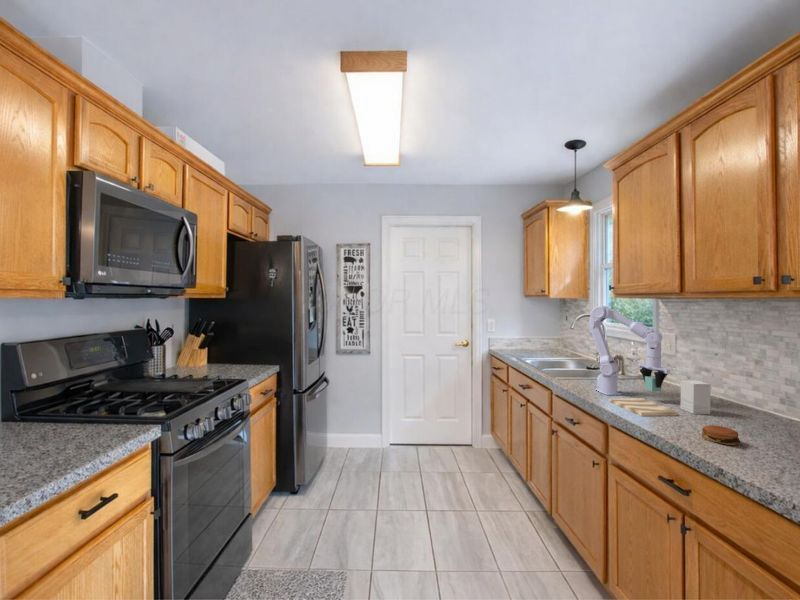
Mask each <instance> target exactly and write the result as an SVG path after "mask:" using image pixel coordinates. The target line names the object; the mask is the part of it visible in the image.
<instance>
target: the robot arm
mask: <svg viewBox="0 0 800 600" xmlns="http://www.w3.org/2000/svg"><path fill="white" fill-rule="evenodd" d="M606 319H613V320H615V321H617V322H618V323H621V324H623V325H624V326H626V327H628V328H629V330H630V332H631V333H633V334H635V335H637V336H638V337H640V338H642V339H644V340H645V341H646V353H645V355H646V357H645V363H638V364H637V368H639V372H640V374H641V375H642V378H643V381H644V383H645V376H652V373H653V374H654V376H655V378H656V387H657V388H661V389H662V385H663V382H664V380H665V378H666V377H667V376H668V374H671V369H670V368H666V367H664V366H663V367H662V341H663V335H662V333H661V332H659V331H658V330H655V328H653V327H649V326H647V325H645V324H644V322H643V321H633V320H632V319H629V318H628V317H626V316H625V315H623V314H622V313H620V312H618V311H617V310H615V309H613V308H611V307H609V306H606V305H602V306H601V305H600V306H599V305H597V306H594V307H593V308H592V310H591V311H590V312H589V320H588V328H589V330H590V334H591V336H592V339H593V342H594V345H595V347H596V350H597V355H598V356H599V365H600V366H599V371H600V374H598V375H597V378H596V388H595V389H594V391H596V390H597V391H596V392H598V391H599V392H598V393H600V394H603V395H605V396H621V395H622V393H620V392H618V384H619V383H618V378H619V377H618V376H619V375H618V372H619V369H620V367H619V364H618V363H617V362H616V361H615V359H614V357H613V356H612V354H611V352H610V349H609V346H608V344H607V340H606V338H605V335H604V332H603V329H602V327H601V325H602V324H603V323H604V321H605V320H606ZM653 371H654V372H653Z"/></svg>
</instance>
